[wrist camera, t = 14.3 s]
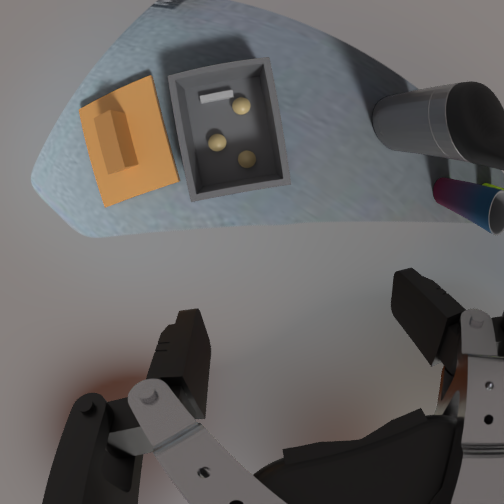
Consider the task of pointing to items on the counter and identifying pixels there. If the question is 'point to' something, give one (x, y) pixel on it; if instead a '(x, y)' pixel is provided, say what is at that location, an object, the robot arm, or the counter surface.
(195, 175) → the tub
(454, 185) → the cup
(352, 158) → the counter surface
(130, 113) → the lid
